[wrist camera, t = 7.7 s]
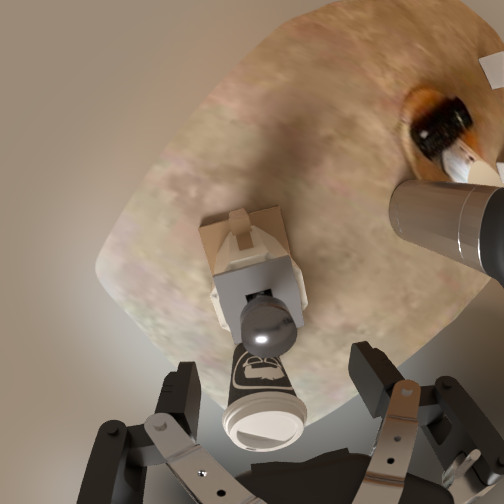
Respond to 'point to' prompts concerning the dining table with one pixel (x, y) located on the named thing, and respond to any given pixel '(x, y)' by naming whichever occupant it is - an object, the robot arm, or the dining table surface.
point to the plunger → (267, 326)
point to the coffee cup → (262, 404)
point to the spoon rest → (501, 170)
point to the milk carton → (494, 69)
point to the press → (251, 265)
